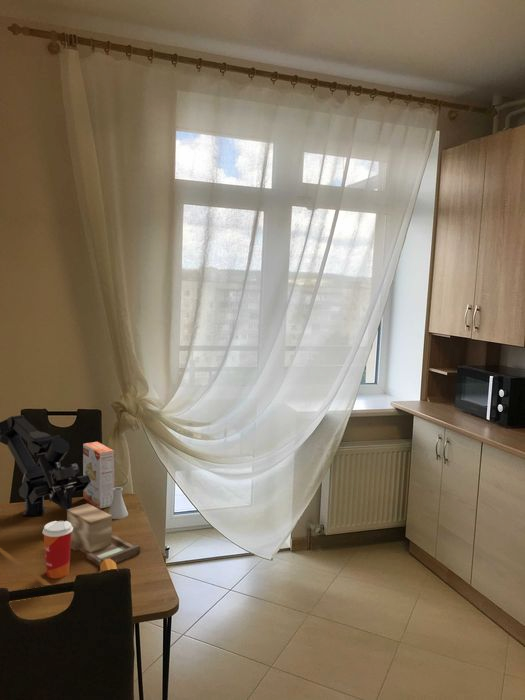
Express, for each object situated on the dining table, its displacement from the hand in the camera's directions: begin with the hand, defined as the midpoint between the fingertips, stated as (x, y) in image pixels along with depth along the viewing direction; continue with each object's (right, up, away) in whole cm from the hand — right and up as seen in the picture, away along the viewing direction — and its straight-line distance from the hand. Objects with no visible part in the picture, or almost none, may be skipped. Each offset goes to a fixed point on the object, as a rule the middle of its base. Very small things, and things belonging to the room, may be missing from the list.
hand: (70, 512), depth 175 cm
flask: (+11, -6, +14) cm, 19 cm away
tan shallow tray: (+10, -8, -8) cm, 16 cm away
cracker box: (+1, -4, +26) cm, 26 cm away
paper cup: (+5, -10, -25) cm, 27 cm away
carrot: (+21, -11, -30) cm, 39 cm away
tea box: (+8, -7, -6) cm, 12 cm away
